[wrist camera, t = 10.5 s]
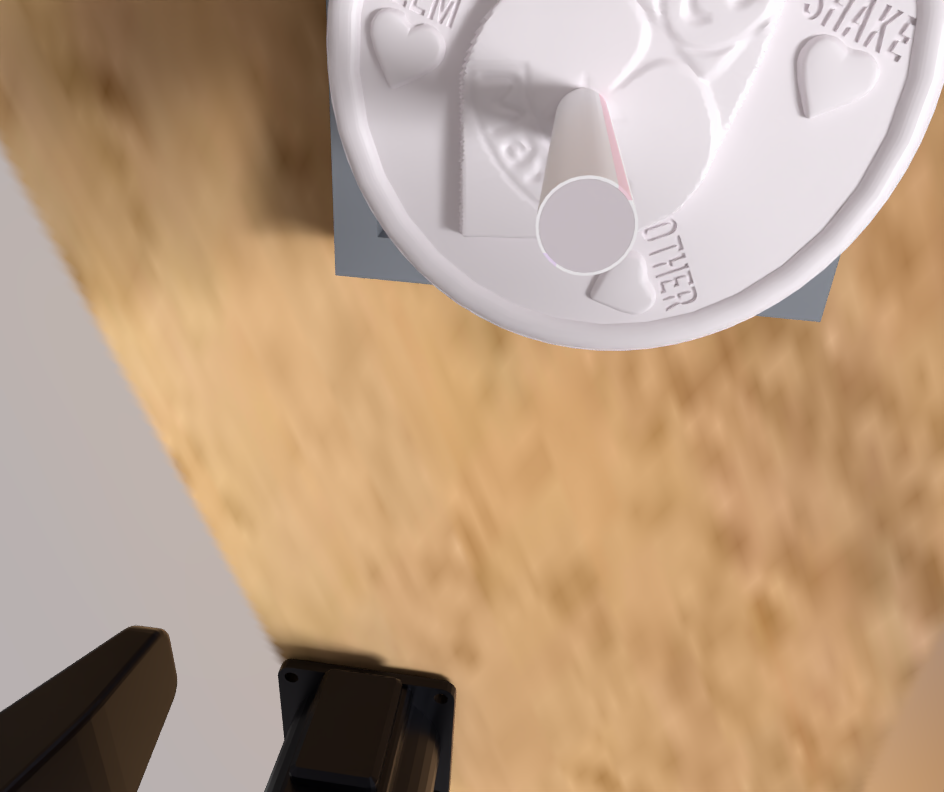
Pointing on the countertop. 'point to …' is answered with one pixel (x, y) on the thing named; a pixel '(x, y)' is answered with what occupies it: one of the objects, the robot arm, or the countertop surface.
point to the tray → (378, 258)
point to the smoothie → (629, 149)
